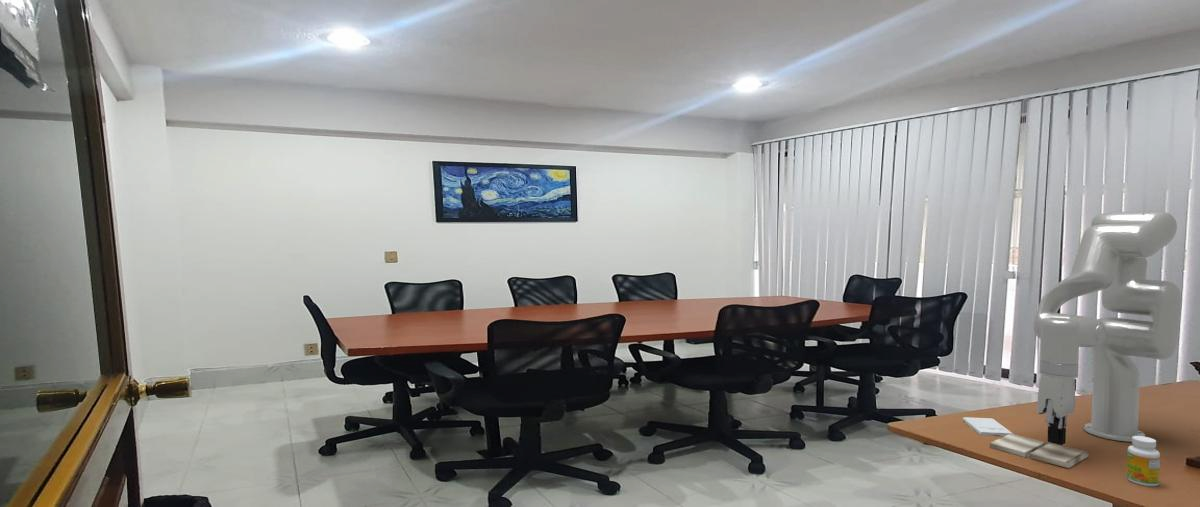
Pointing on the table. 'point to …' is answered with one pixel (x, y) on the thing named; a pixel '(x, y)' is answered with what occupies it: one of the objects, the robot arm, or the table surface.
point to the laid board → (1017, 445)
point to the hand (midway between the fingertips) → (1056, 442)
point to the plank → (1059, 455)
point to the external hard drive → (986, 426)
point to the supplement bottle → (1143, 461)
